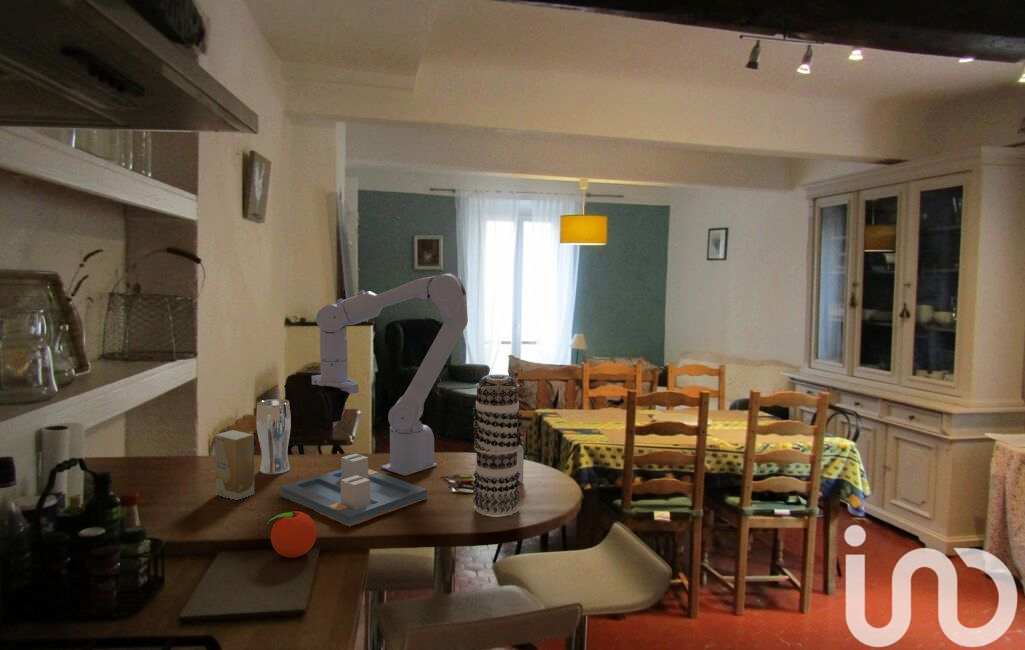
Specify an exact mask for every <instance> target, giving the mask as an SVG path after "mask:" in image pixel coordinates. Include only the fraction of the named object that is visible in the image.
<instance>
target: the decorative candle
mask: <svg viewBox="0 0 1025 650" xmlns="http://www.w3.org/2000/svg"><path fill="white" fill-rule="evenodd" d="M520 386H521V384H519V383H517V382H516V380H515V379H514V377H512V376H510V375H506V374H488V375H484V376H483V377H482V378H481V379H480V380H479V382H478V383H477V382H476V383H475V387H476V401H475V405H474V407H472V409H473V411H472V414H471V415H472V417H473V419H474V420H473V424H472V427H473V428H474V429H473V432H472V435H473V437H474V441H473V448H474V450H475V451H476V461H475V471H474V473H473V477H474V480H473V484H474V487H475V488H474V489H473V492H472V493H473V496H474V497H473V503H474V506H473V510H474V509H475V510H476V511H478V512H480V513H484V514H490V515H502V514H510V513H514V512H516V511H517V510H518V508H519V509H520V506H519V502H520V498H519V494H520V489H519V485H520V482H519V481H518V478H519V476H520V473H519V472H518V463H517V451H518V450H519V448H520V446H519V445H521V443H522V441H520V440H519V439H518V438H520V437H521V435H522V434H521V431H519V430H518V428H519V427H521V426H522V425H523V422H521V420H520V419H521V418H522V413H521V412H519V408H520V401H519V400H518V397H519V391H518V389H519V387H520ZM475 510H474V511H475ZM518 511H519V510H518Z"/></svg>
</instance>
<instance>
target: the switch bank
mask: <svg viewBox="0 0 1025 650" xmlns="http://www.w3.org/2000/svg"><path fill="white" fill-rule="evenodd" d="M368 479H369V480H370V504H371V505H370V506H367V507H364V508H361V509H358V510H354V509H352V508H350V507H347V506H345V505H343V504H341V480H342V470H341V468H340V469H337V470H335V471H330V472H327V473H323V474H319V475H317V476H312V477H310V478H305V479H302V480H299V481H295V482H292V483H287V484H283V485H282V486H280V497H281V496H282V497H281V498H283V497H284V498H283V499H286V498H287V499H286V500H288V499H289V501H290V500H292V501H294V502H297V503H299V504H301V505H303V506H306V507H308V508H310V509H313V510H315V511H318V512H321V513H323V514H326V515H328V516H331V517H333V518H335V519H338V520H340V521H343V522H346V523H348V524H350V523H353V522H356V521H359V520H362V519H364V518H367V517H370V516H373V515H376V514H379V513H382V512H385V511H389V510H391V509H394V508H397V507H400V506H403V505H406V504H409V503H412V502H415V501H418V500H422V499H424V498H427V499H428V489H427V488H425V487H421V486H419V485H417V484H416V485H415V484H413V483H411V482H410V483H409V482H408V481H404V480H401V479H399V478H396V477H393V476H390V475H387V474H385V473H382V472H378V471H376V470H373V469H370V468H368ZM292 501H291V502H292ZM294 502H293V503H294ZM299 504H298V505H299ZM301 505H300V506H301ZM303 506H302V507H303ZM310 509H309V510H310Z"/></svg>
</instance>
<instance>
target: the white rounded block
mask: <svg viewBox="0 0 1025 650" xmlns="http://www.w3.org/2000/svg"><path fill="white" fill-rule="evenodd" d="M519 446H520V448H519V450H518V451H517V463H518V472H519V473H520V476H519V478H518V481H519V482H520V484H522V483H523V482H524V460H525V459H524V457H525V456H524V448H523V446H522V445H521V444H520V445H519ZM520 484H519V485H520Z"/></svg>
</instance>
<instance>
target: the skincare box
mask: <svg viewBox="0 0 1025 650" xmlns="http://www.w3.org/2000/svg"><path fill="white" fill-rule="evenodd" d="M214 441H215V443H214V446H215V453H214V454H215V495H216V496H218V495H219V497H221V496H222V498H225V497H226V498H225V499H228V498H230V499H229V500H232V499H235V500H239V499H241V500H243V499H242V498H244V499H246V498H245V497H247V498H249V497H252V496H254V495H255V435H254V434H253V433H252V434H251V433H247V432H243V431H238V430H234V429H232V430H231V429H230V430H227V431H225V432H221V433H218V434H215V435H214ZM251 495H252V496H251ZM248 496H249V497H248ZM235 500H234V501H235ZM239 501H240V500H239Z"/></svg>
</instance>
